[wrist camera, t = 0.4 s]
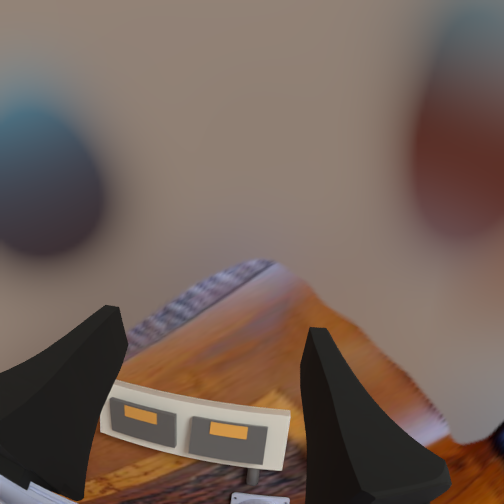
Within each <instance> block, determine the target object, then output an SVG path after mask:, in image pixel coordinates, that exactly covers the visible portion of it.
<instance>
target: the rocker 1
mask: <svg viewBox="0 0 504 504" xmlns="http://www.w3.org/2000/svg"><path fill="white" fill-rule="evenodd" d="M109 401H110V414H111V425H112V430H113V431H116V432H119V433H122V434H125V435H128V436H132V437H135V438H138V439H142V440H145V441H149V442H152V443H156V444H160V445H164V446H168V447H172V448H175V447H176V445H177V414H176V413H172V412H167V411H163V410H159V409H155V408H151V407H147V406H143V405H139V404H135V403H132V402H128V401H125V400H121V399H118V398H115V397H111V398H110V399H109Z"/></svg>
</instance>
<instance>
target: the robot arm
mask: <svg viewBox="0 0 504 504" xmlns="http://www.w3.org/2000/svg"><path fill="white" fill-rule="evenodd" d="M127 347H128V342H127V338H126V334H125V330H124V326H123V322H122V318H121V313H120V309H119V307H115V306H109V305H105V306H103V307H102V308H101V309H99V310H98V311H97V312H95V313H94V314H93V315H91V316H90V317H89V318H87V319H86V320H85V321H84V322H82V323H81V324H80V325H78V326H77V327H76V328H74V329H73V330H72V331H71V332H69V333H68V334H67V335H65V336H64V337H62V338H61V339H60V340H58V341H57V342H55V343H54V344H53V345H51V346H50V347H48V348H47V349H45V350H44V351H42V352H41V353H39V354H37V355H36V356H34V357H32V358H30V359H29V360H27V361H25V362H23V363H21V364H19V365H17V366H15V367H13V368H11V369H9V370H6V371H4V372H2V373H0V504H78V503H75V502H73V501H70V500H68V499H66V498H64V497H61V496H59V495H57V494H61V495H63V496H65V497H68V498H70V499H72V500H75V501H79V500H82V499H83V498H84V489H85V479H86V471H87V466H88V460H89V454H90V450H91V446H92V441H93V437H94V433H95V430H96V426H97V423H98V419H99V416H100V414H101V411H102V409H103V406H104V404H105V402H106V400H107V397H108V395H109V393H110V391H111V389H112V386H113V384H114V382H115V380H116V378H117V375H118V373H119V371H120V369H121V366H122V363H123V360H124V357H125V354H126V351H127ZM300 389H301V397H302V405H303V414H304V422H305V430H306V440H307V477H306V498H305V504H430V501H432V500H434V499H435V498H437V497H438V496H440V495H441V494H443V493H444V492H445V491H447V490H448V489H449V488H450V486H451V485H452V483H451V479H450V475H449V471H448V468H447V465H446V462H445V460H444V459H442V458H440V457H439V456H437V455H436V454H434V453H433V452H431V451H430V450H428V449H427V448H425V447H424V446H422V445H421V444H420V443H418V442H417V441H416V440H414V439H413V438H412V437H411V436H409V435H408V434H407V433H406V432H405V431H404V430H403V429H402V428H400V427H399V426H398V425H397V424H396V423H395V422H394V421H393V420H392V419H391V418H390V417H389V416H388V415H387V414H386V413H385V412H384V411H383V410H382V409H381V408H380V407H379V405H378V404H377V403H376V402H375V401H374V400H373V399H372V397H371V396H370V395H369V394H368V392H367V391H366V390H365V388H364V387H363V386H362V384H361V383H360V382H359V380H358V379H357V377H356V376H355V375H354V373H353V372H352V370H351V368H350V367H349V365H348V364H347V362H346V361H345V359H344V358H343V356H342V354H341V353H340V351H339V349H338V348H337V346H336V344H335V342H334V341H333V339H332V337H331V335H330V333H329V331H328V330H327V329H326V328H315V327H310V328H309V332H308V336H307V340H306V344H305V348H304V352H303V356H302V360H301V364H300ZM51 491H53V492H55V493H57V494H55V493H53V492H51ZM234 497H236V499H235V498H234ZM285 502H287V503H286V504H289V502H290V499H289V498H287V497H274V496H263V495H253V494H245V493H237V492H234V493H232V498H231V504H285Z"/></svg>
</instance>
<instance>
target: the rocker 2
mask: <svg viewBox="0 0 504 504" xmlns="http://www.w3.org/2000/svg"><path fill="white" fill-rule="evenodd" d="M267 431H268V427H267V426H258V425H249V424H241V423H234V422H227V421H221V420H215V419H209V418H203V417H198V416H193V418H192V426H191V434H190V443H189V452H188V453H189V454H194V455H199V456H204V457H209V458H215V459H221V460H227V461H234V462H241V463H249V464H258V465H263V459H264V452H265V445H266V438H267Z"/></svg>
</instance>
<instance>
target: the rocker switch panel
mask: <svg viewBox="0 0 504 504" xmlns="http://www.w3.org/2000/svg"><path fill="white" fill-rule="evenodd" d="M111 397H115V398H118V399H121V400H125V401H128V402H132V403H135V404H139V405H143V406H147V407H151V408H155V409H159V410H163V411H167V412H172V413H176V414H177V445H176V447H175V448H172V447H168V446H164V445H160V444H156V443H152V442H149V441H145V440H142V439H138V438H135V437H132V436H128V435H125V434H122V433H119V432H116V431H113V430H112V425H111V414H110V401H109V399H110V398H111ZM193 416H198V417H203V418H209V419H215V420H221V421H227V422H234V423H241V424H249V425H258V426H267V427H268V431H267V438H266V445H265V452H264V459H263V465H258V464H249V463H241V462H234V461H227V460H221V459H215V458H209V457H204V456H199V455H194V454H189V453H188V452H189V443H190V434H191V426H192V418H193ZM289 423H290V410H282V409H271V408H262V407H253V406H244V405H237V404H230V403H223V402H217V401H210V400H204V399H199V398H193V397H188V396H183V395H178V394H173V393H168V392H164V391H159V390H155V389H151V388H147V387H143V386H139V385H135V384H131V383H127V382H123V381H120V380H115V382H114V384H113V386H112V389H111V391H110V393H109V395H108V397H107V400H106V402H105V404H104V406H103V409H102V411H101V414H100V432H102V433H105V434H107V435H110V436H113V437H116V438H119V439H122V440H125V441H128V442H132V443H135V444H138V445H141V446H145V447H148V448H152V449H156V450H159V451H163V452H167V453H171V454H175V455H180V456H184V457H189V458H193V459H198V460H203V461H209V462H214V463H220V464H226V465H233V466H240V467H248V471H247V479H246V483H247V484H248V485H252V486H254V485H257V484H258V480H259V473H260V469H266V470H277V471H282V467H283V461H284V455H285V449H286V443H287V436H288V430H289Z"/></svg>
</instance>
